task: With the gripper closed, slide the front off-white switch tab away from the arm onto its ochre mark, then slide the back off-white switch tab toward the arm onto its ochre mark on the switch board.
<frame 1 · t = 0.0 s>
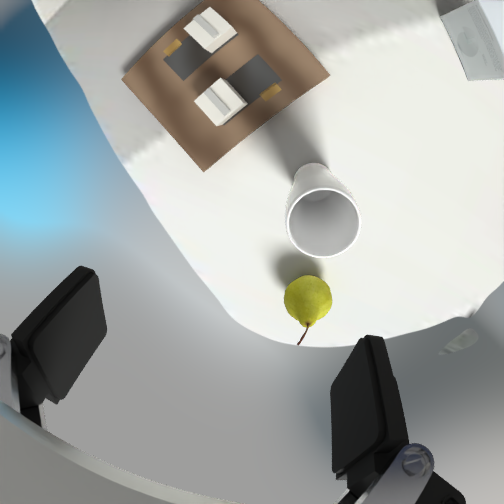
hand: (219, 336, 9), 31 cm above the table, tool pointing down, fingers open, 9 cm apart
skincare box: (468, 45, 24), on the table
drinking glass: (313, 181, 37), on the table
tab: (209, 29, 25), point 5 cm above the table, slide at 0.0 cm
fruit: (307, 284, 45), on the table
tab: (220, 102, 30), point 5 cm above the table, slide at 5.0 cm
switch board: (221, 71, 32), on the table
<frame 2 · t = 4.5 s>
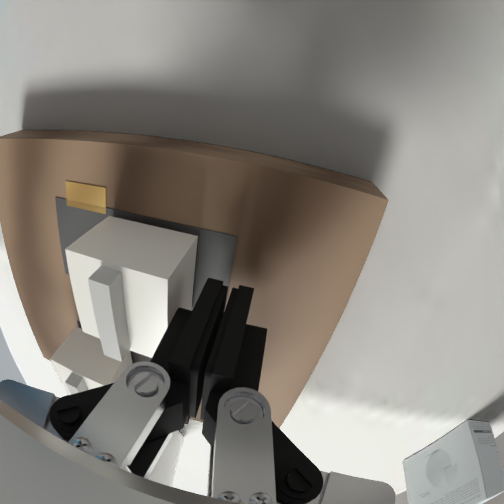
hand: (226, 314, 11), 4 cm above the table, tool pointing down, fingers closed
skincare box: (447, 441, 23), on the table
drinking glass: (161, 426, 26), on the table
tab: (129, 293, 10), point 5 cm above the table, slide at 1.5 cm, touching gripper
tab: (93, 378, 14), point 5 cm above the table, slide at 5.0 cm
switch board: (147, 293, 16), on the table
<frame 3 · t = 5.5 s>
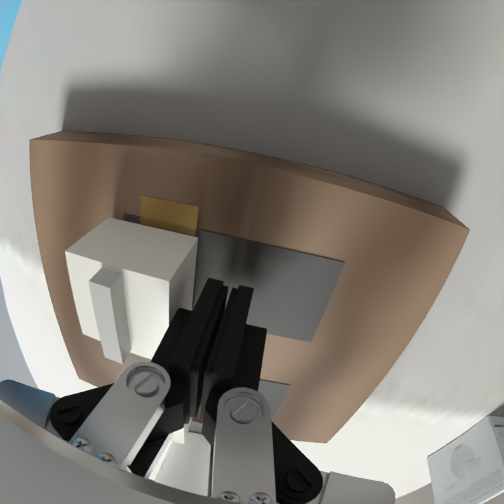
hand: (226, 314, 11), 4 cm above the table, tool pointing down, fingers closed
skincare box: (467, 436, 23), on the table
drinking glass: (198, 439, 26), on the table
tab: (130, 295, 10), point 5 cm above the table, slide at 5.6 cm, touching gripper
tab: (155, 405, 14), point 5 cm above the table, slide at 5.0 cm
switch board: (213, 313, 16), on the table
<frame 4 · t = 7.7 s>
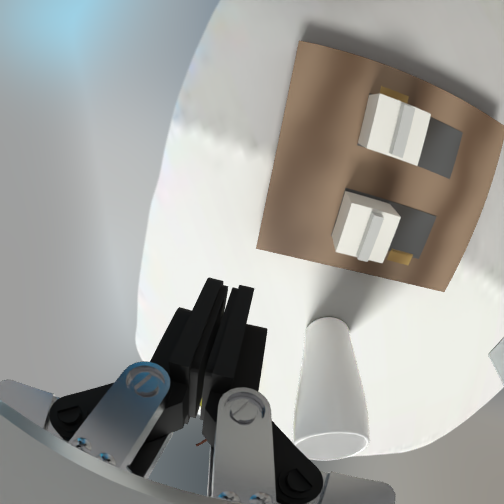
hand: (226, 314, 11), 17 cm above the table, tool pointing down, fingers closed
drinking glass: (326, 330, 33), on the table
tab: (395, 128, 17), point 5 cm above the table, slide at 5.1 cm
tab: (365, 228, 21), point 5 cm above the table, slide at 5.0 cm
switch board: (387, 173, 23), on the table
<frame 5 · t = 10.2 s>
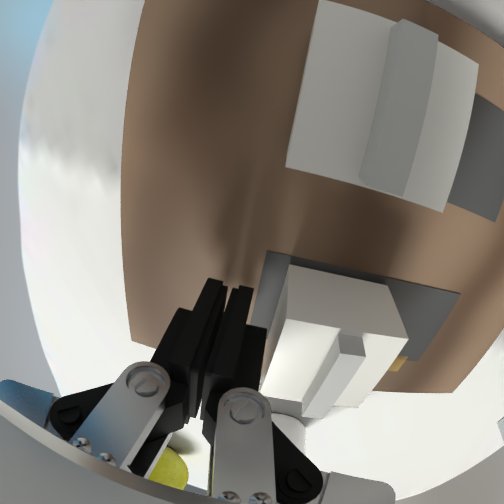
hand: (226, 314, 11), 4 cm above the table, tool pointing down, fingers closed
drinking glass: (274, 423, 21), on the table
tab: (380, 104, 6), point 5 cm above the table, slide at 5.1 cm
fruit: (167, 446, 28), on the table
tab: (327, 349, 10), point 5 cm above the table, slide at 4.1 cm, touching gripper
switch board: (368, 208, 12), on the table
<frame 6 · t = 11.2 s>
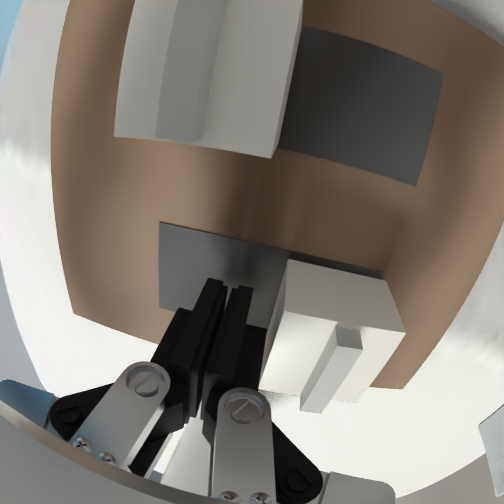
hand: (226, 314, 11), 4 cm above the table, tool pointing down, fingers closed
drinking glass: (224, 410, 22), on the table
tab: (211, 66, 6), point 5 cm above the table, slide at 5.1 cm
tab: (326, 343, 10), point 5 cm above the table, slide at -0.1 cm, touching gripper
switch board: (274, 180, 12), on the table
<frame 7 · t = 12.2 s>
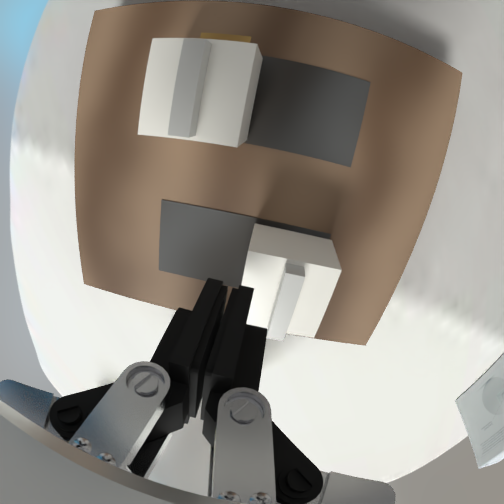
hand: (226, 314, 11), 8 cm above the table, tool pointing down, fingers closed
skincare box: (493, 374, 23), on the table
drinking glass: (212, 378, 25), on the table
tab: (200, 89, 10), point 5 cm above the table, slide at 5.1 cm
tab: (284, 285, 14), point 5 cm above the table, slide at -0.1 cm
switch board: (247, 169, 16), on the table
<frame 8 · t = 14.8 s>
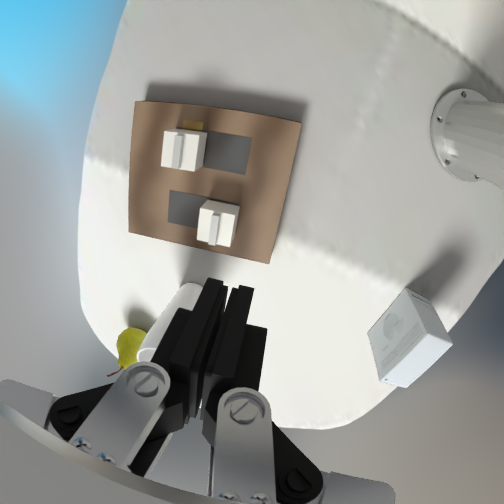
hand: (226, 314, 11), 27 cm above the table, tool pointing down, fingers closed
skincare box: (399, 316, 42), on the table
drinking glass: (195, 294, 45), on the table
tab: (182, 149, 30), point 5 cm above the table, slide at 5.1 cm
fruit: (142, 333, 52), on the table
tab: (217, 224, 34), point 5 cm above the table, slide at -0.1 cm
switch board: (207, 176, 36), on the table
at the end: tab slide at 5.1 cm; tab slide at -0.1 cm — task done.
